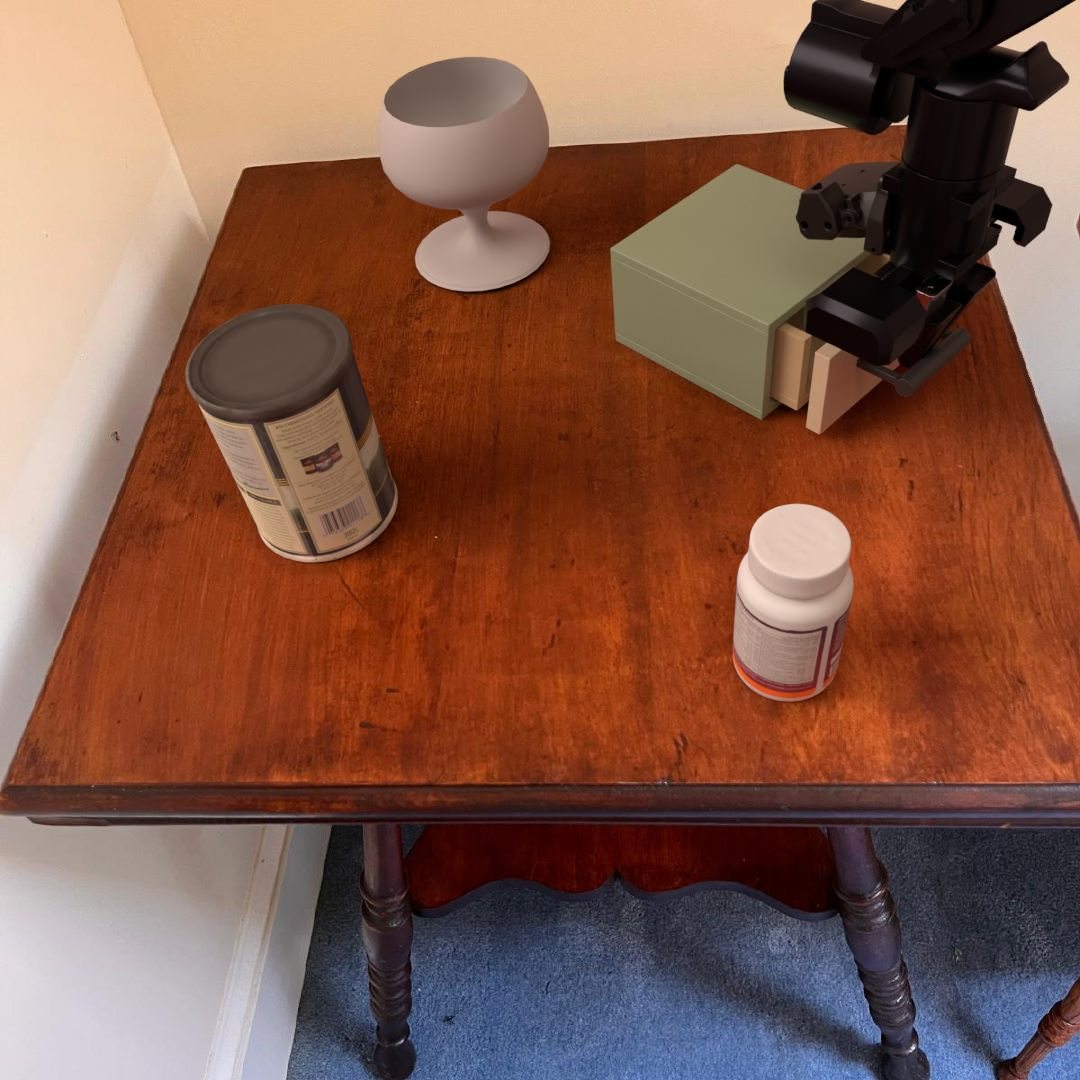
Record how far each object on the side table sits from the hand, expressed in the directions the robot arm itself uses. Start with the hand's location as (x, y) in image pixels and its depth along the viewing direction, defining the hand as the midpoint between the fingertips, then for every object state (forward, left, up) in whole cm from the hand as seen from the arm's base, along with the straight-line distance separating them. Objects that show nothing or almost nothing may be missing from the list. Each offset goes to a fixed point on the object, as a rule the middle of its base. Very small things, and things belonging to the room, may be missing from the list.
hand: (908, 364), depth 71 cm
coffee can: (+37, -20, -4) cm, 42 cm away
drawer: (+1, -7, -3) cm, 7 cm away
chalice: (+11, -38, -4) cm, 40 cm away
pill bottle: (+22, +10, -4) cm, 24 cm away
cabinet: (+2, -14, -4) cm, 15 cm away
